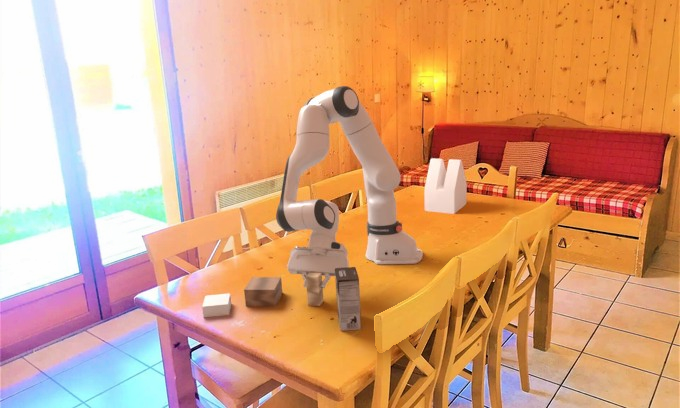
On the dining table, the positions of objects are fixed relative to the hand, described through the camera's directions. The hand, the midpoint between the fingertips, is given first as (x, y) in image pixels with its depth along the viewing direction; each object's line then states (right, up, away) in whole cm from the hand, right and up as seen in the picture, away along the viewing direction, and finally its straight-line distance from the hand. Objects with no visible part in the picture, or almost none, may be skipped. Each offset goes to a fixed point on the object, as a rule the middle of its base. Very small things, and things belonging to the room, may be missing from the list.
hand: (314, 287), depth 167 cm
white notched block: (+63, +25, +100) cm, 120 cm away
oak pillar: (0, -6, +2) cm, 6 cm away
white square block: (-31, -8, +1) cm, 32 cm away
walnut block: (-17, -5, +7) cm, 19 cm away
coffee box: (+11, -9, -12) cm, 18 cm away
